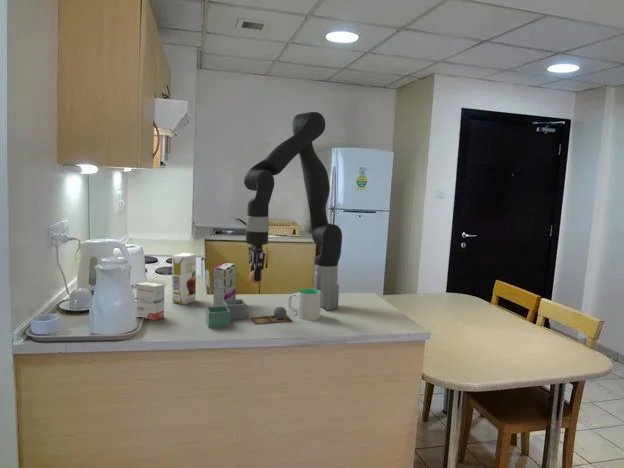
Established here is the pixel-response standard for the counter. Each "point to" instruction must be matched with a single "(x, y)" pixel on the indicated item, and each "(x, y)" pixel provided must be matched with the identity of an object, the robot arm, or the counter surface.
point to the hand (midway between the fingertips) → (255, 279)
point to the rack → (269, 319)
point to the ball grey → (279, 313)
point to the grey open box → (236, 308)
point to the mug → (307, 304)
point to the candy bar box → (224, 283)
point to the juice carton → (183, 278)
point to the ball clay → (253, 277)
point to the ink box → (150, 300)
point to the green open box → (217, 316)
